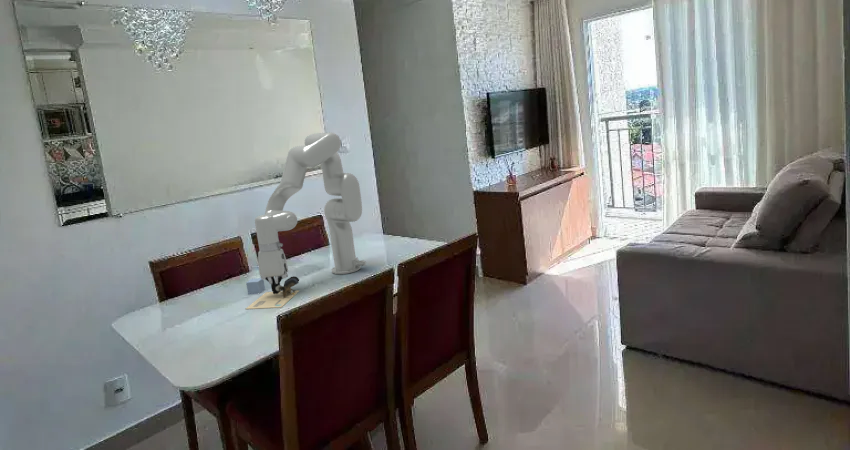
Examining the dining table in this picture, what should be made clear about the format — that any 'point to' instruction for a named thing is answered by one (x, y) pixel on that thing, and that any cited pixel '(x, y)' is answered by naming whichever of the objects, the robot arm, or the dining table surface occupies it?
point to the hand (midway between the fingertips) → (276, 292)
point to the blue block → (255, 286)
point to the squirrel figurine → (288, 285)
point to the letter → (271, 300)
